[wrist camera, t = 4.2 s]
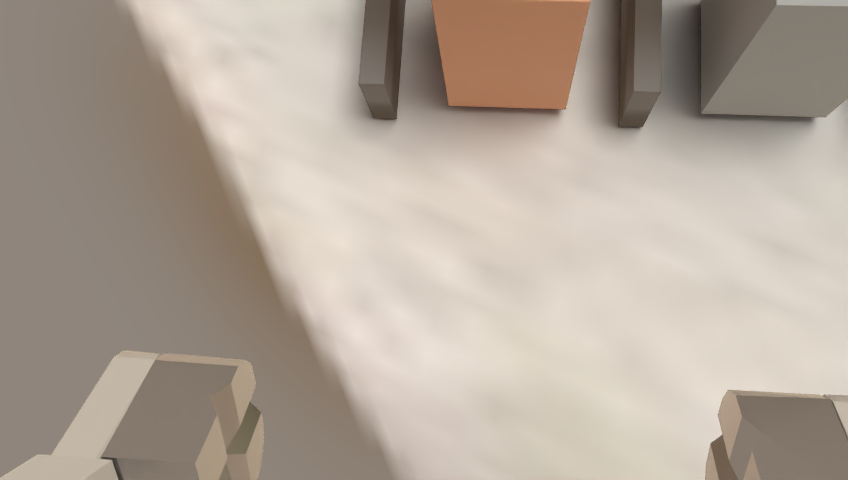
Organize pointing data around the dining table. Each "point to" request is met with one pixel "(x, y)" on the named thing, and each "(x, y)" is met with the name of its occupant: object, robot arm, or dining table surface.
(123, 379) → the robot arm
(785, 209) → the dining table surface
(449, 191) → the dining table surface
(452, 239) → the dining table surface
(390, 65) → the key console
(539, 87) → the terracotta key
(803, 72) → the slate key
